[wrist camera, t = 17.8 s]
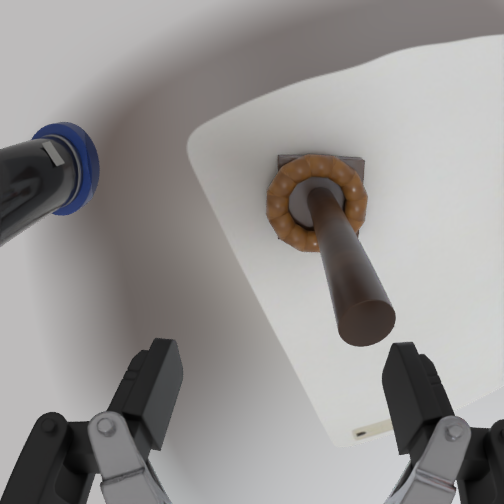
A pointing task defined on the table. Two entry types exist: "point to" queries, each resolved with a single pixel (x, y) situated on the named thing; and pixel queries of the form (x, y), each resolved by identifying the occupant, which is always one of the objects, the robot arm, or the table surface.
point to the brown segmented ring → (300, 172)
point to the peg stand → (342, 258)
